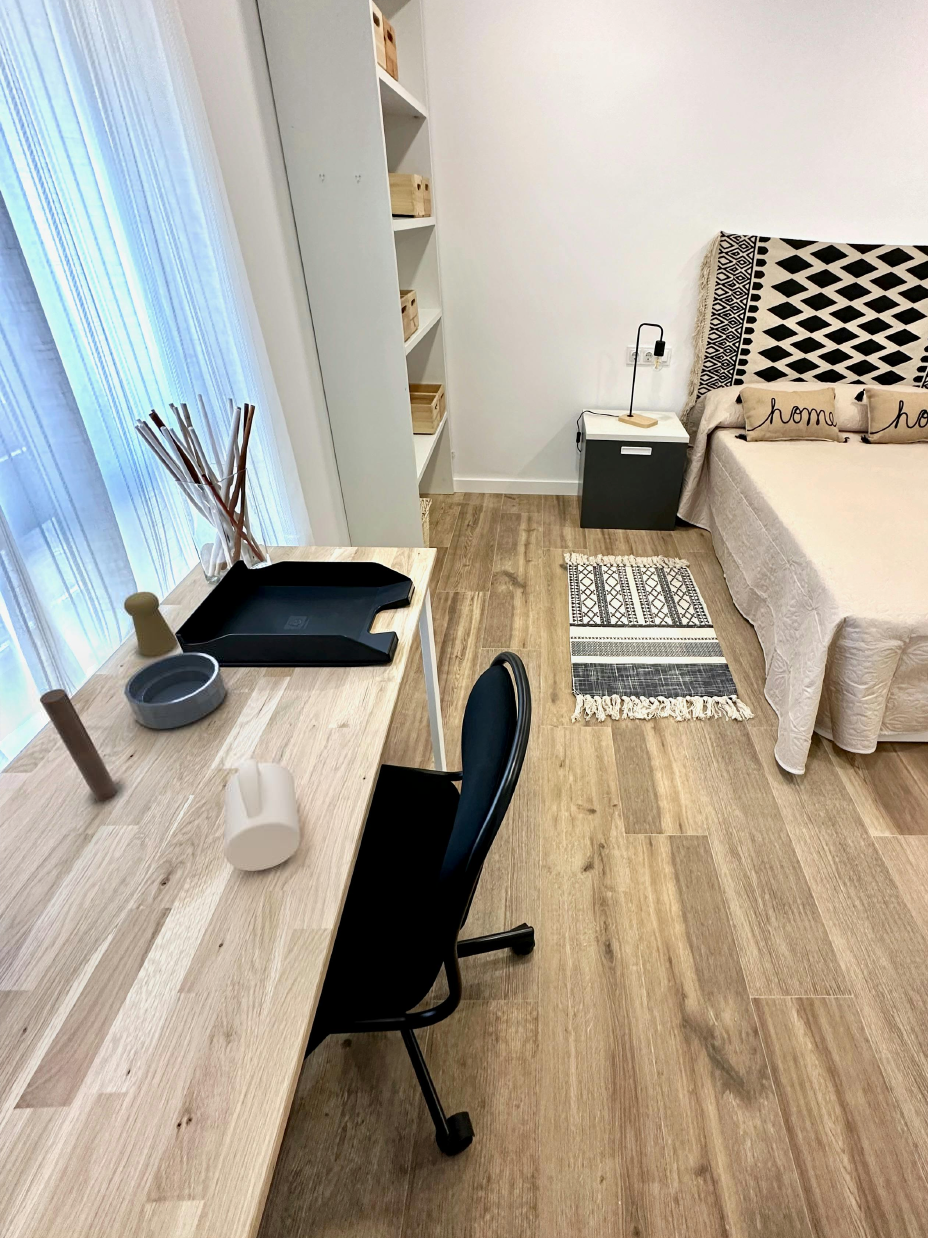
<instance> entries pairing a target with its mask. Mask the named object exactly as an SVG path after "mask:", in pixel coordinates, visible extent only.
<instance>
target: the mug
mask: <svg viewBox="0 0 928 1238" xmlns="http://www.w3.org/2000/svg"><path fill="white" fill-rule="evenodd" d="M295 786H296V785H295V779H294V775H293V773H292V772H291V770H290V769H288V768H287V767H286V766H283V764H282V765H281V764H278V763H274V762H257V761H256V760H255V759H253V758H249V759H245V760H244V761H242V762H241V763H240V764H239V766H238V769H237V772H235V773H234V774H233V775H232V776H231V777H230V778H229V780H228V781H227V783H226V786H225V790H224V857H225V860H226V861H227V863H228V864H229V865H231V866H232V867H233V868H236V869H238V870H243V871H249V872H250V871H251V872H252V871H253V872H254V871H255V872H256V871H263V870H266V869H270V868H271V869H272V868H274V867H276V866H278V865H280V864H282V863H284V862H285V861H287V860H288V859H290V857H291V856H293V854H294V853H296V851H297V850H298V849H299V846H300V843H301V833H300V825H299V824H300V823H299V814H298V805H297V796H296V788H295Z"/></svg>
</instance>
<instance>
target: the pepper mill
mask: <svg viewBox="0 0 928 1238" xmlns="http://www.w3.org/2000/svg"><path fill="white" fill-rule="evenodd" d="M123 607H124V608H123V609H124V610H125V612H126V613H127V614H128V615H129V616H130V617H131V618H132V619H131V620H132V622H133V628H134V632H135V636H136V641H137V644H138V649H139V653H140V654H141V655H142V656H146V657H151V656H152V657H153V656H154V657H155V656H159V655H160V656H161V655H163V654H165V653H168V652H170V651H171V650H173V649H174V648H175V647H176V646H177V644H178V640H177V638H176V636H175V634H174V633H173V631H172V629H171V627H170V626H169V624H168V622H167V621H166V619H165V617H164V616H163V614H162V613H161V611H160V610H159V607H160V599H159V597H158V596H157V595H156V594H154V593H153V592H151V591H140V592H135V593H133V594H131V595H129V596H127V597H126V598H125V600H124V602H123Z"/></svg>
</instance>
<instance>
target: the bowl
mask: <svg viewBox="0 0 928 1238" xmlns="http://www.w3.org/2000/svg"><path fill="white" fill-rule="evenodd" d="M123 693H124V696H125V698H126V701H127V703H128V705H129V707H130V709H131V711H132V714H133V715H134V717H135V719H136V721H137V722H138V723H139V724H141V725H142V726H145V728H151V729H157V730H161V729H163V730H164V729H173V728H177V727H180V726H185V725H188V724H191V723H192V722H195V721H197V720H199V719H202V718H204V717H205V716H207V715H208V714H209V713H211V712H213V711H214V710H215V709H216V708H217V707H218V706H219V705H220V704H221V703H222V702H223V700H224V698H225V696H226V693H227V685H226V681H225V679H224V676H223V673H222V669H221V666H220V664H219V662H218V660H216V658H215V657H214V656H211V655H209V654H207V653H202V652H192V651H191V652H181V653H175V654H171V655H167V656H164V657H162V658H158V659H157V660H154V661H151V662H150V663H148V664H146V665H145V666H143V667H141V668H140V669H138V670H137V671H136V672H135V673H134V674H132V676H130V678H129V679H128V681H127V682H126V683H125V686H124V692H123Z"/></svg>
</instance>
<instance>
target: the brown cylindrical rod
mask: <svg viewBox="0 0 928 1238" xmlns="http://www.w3.org/2000/svg"><path fill="white" fill-rule="evenodd" d="M39 702H40V703H41V705H42V707H43V709H44V711H45V712H46V714H47V716H48V718H49V719H50V721H51V723H52V725H53V727H54V729H55V730H56V732H57V733H58V735H59V737H60V739H61V741H62V743H63V744H64V745H65V748H66V750H67V752H68V753H69V755H70V756H71V758H72V760H73V762H74V763H75V765H76V768H77V769H78V770H79V772H80V774H81V776H82V778H83V780H84V781H85V783H86V785H87V786H88V788H89V790H90V792H91V794H92V795H93V797H94V799H95V800H96V801H97V802H98V801H99V802H102V801H106V800H110V799H111V798H113V797H114V796H115V795H116V793H117V792H118V788H117V786H116V784H115V782H114V780H113V778H112V776H111V774H110V772H109V770H108V769H107V767H106V765H105V763H104V761H103V758H102V757H101V755H100V753H99V752H98V750H97V748H96V746H95V744H94V741H92V738H91V737H90V735H89V733H88V731H87V728H86V727H85V726H84V723H83V721H82V719H81V718H80V715H79V714H78V712H77V710H76V708H75V706H74V705H73V703H72V701H71V699H70V697H69V695H68V693H67V691H66V690H65V689H64V688H56V689H52V690H49V691H47V692H45V693H44V694H42V695H41V696H40V698H39Z"/></svg>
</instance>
